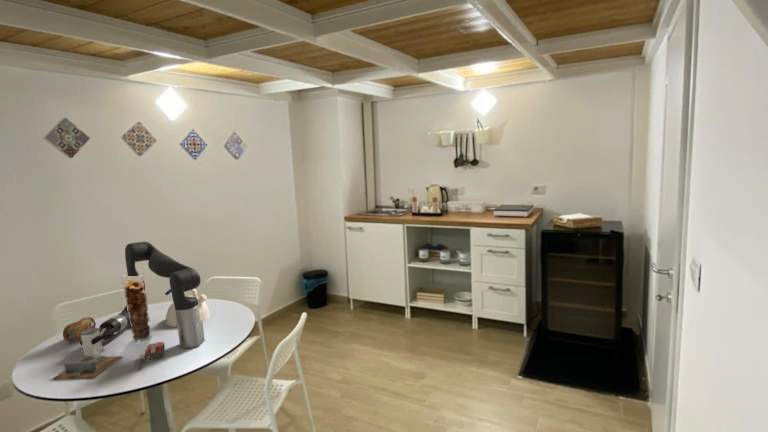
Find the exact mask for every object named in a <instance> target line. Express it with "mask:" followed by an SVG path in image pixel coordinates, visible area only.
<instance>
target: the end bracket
mask: <svg viewBox="0 0 768 432" xmlns="http://www.w3.org/2000/svg"><path fill="white" fill-rule="evenodd" d="M64 371H66V374H68V373H73V372H75V371H84V373H94V372H95V371H96V366H95V361H84V362H78V361H66V362H65V363H64Z"/></svg>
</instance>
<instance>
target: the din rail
mask: <svg viewBox="0 0 768 432" xmlns="http://www.w3.org/2000/svg"><path fill="white" fill-rule="evenodd" d="M94 357H95V358H94V359H92V360H91V361H95V365H96V364H98V363H99V362H101V361H102V360H103V359H105V358H106V357H107V356H105V355H102V356H100V355H97V356H94ZM82 374H84V371H75V372H73V373H72V374H71V376H81V375H82Z"/></svg>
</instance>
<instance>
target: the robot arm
mask: <svg viewBox="0 0 768 432" xmlns="http://www.w3.org/2000/svg"><path fill="white" fill-rule="evenodd" d="M124 257H125V267H126V274H127V277H128V276H138V275H140V274H139V273H138V271H137V269H136V263H137V262H144V261H146V262H147V261H148V263H147V265H148V268H149V270H150V271H151V272H153V273H154V274H156V275H157V276H158V277H162V278H166V279H167V278H168V280H169V286H170V289H171V292H170V293H171V297H172V301H173V302H174V306H175V313H176V321H177V327H176V328H177V336H178V341H179V347H180V348H181V349H193V348H197V347H200V346H201V344H203V343H204V342H205V341H206V339H205V338H206V337H205V332H204V331H205V330H204V323H203V322H204V321H202V320H200V314H199V306H198V299H197V298H196V297H188V296H189V295H185V292H188V291H191V290H192V289H195V290H196V289H197V288H198V287H199V286H200V285H201V276H200V274H199V273H198V271H197V270H196V269H194V268H193V267H190V266H187V265H185V264H182V263H180V262H179V261H177V260H175V259H173V258H172V257H171V256H169V255H167V254H165V253H163V252H162V251H160V250H159V249H157V248H156V247H155V246H154V245H153V244H152V243H150V242H148V241H140V242H139V241H138V242H131V243H128V244H127V245H126V246H125V249H124ZM143 283H144V291H145V292H146V284H145V281H144V280H143ZM173 302H172V303H173ZM130 325H131V324H130V319H129V313H128V311H127V305H126V306H125V307H124V308H123V309H122V310H121V312H120V313H118V314H117V315H115V316H112V317H110V318H109V319H107V320H105V321H103V322H102V323H101V324H100V325H99V327H98V328H99V331H100V335H99V336H97V337H95V338H94V339H92V340H91V343H92V345H93V344H96V343H97V342H99V341H101V342H102V341H107V340H110V339H112V338H114V337H117V336H118V335H119V333H120V332H121V331H123V330H124V329H126V328H127V327H128V326H130ZM79 344H80V345H81V346H82V340H81V339H80V340H79Z"/></svg>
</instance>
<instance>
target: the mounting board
mask: <svg viewBox="0 0 768 432" xmlns="http://www.w3.org/2000/svg"><path fill="white" fill-rule="evenodd" d="M95 357H96V356H84V357H83V358H81V359H80V360H78V361H77V362H84V361H91V360H92V359H94V358H95ZM105 357H106V358H105V359H103V360H102V361H101V362H99V363H98V364H96V365H95V366H96V371H95V372H94V373H84V374H82V375H81V376H71V374H72V373H68V374H66V371H65V370H63V371H62V372H59V373H58V374H57V375H56V376H54V377H53V380H76V379H77V380H79V379H80V380H81V379H82V380H83V379H84V380H85V379H96V378H98V376H100V375H101V374H102V373H104V372H106V370H108V369H109V368H110V367H111V366H114V364H116V363H117V362H118V361H119V360H121V359H122V358H123V356H119V355H118V356H117V355H116V356H115V355H114V356H105Z"/></svg>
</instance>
